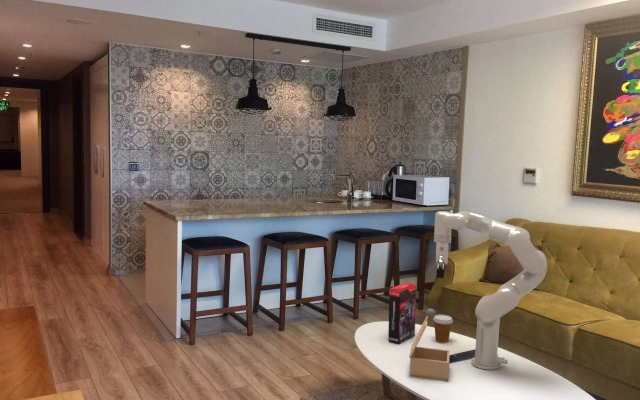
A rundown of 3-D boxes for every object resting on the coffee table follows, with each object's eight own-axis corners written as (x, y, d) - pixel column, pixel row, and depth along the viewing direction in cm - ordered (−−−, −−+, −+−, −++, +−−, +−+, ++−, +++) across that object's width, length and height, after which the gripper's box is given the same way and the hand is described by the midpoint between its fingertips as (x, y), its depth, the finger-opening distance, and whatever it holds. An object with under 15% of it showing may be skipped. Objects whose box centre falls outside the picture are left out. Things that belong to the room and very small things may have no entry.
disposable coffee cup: (428, 340, 275) (429, 317, 274) (438, 335, 282) (439, 313, 281) (445, 345, 269) (446, 322, 268) (455, 340, 276) (456, 317, 274)
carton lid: (437, 306, 241) (429, 302, 242) (436, 316, 227) (427, 312, 228) (416, 347, 246) (408, 343, 246) (414, 360, 232) (405, 355, 232)
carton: (448, 367, 243) (449, 350, 242) (448, 381, 229) (449, 362, 228) (412, 363, 247) (413, 346, 246) (409, 376, 233) (410, 358, 232)
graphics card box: (398, 345, 268) (401, 291, 265) (386, 341, 272) (388, 288, 269) (415, 335, 281) (417, 284, 278) (403, 332, 285) (405, 281, 282)
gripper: (450, 242, 241) (448, 280, 243) (451, 235, 258) (449, 271, 260) (433, 241, 243) (431, 279, 245) (434, 234, 260) (433, 270, 262)
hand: (440, 275), depth 252 cm, fingers open, 9 cm apart
